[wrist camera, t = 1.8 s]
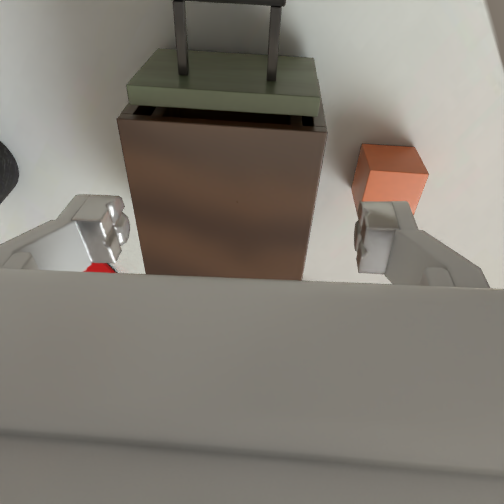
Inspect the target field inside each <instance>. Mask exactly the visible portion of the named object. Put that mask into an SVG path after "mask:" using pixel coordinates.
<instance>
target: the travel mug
mask: <svg viewBox="0 0 504 504" xmlns="http://www.w3.org/2000/svg"><path fill="white" fill-rule="evenodd" d="M18 178H19V171H18V166H17V163H16V161H15V159H14V157H13V155H12V154H11V153H10V151H9V150H8V149H7V148H6V147H5V146H4V145H3V144H2V143H1V142H0V204H1V203H2V201H3V200H4V199H5V198H6V197H7V196H8V194H9V193H10V192H11V191H12V190H13V188H14V187H15V186H16V184H17V181H18Z"/></svg>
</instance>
